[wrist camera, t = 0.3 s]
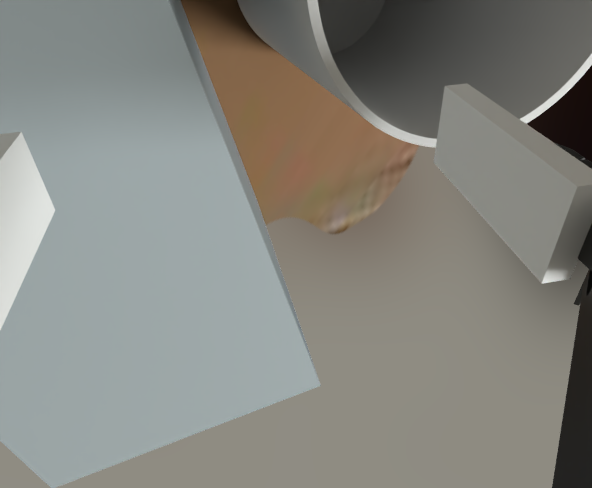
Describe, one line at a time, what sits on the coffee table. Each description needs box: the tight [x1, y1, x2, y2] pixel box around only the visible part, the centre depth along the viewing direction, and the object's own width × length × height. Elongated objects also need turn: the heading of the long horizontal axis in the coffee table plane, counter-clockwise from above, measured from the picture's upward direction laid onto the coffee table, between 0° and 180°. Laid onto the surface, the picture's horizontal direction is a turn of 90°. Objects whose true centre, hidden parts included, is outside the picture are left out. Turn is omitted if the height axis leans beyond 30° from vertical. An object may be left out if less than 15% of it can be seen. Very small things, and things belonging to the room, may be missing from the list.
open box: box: [0, 0, 320, 488], centre depth 28 cm, size 26×15×24 cm, turn 17°
